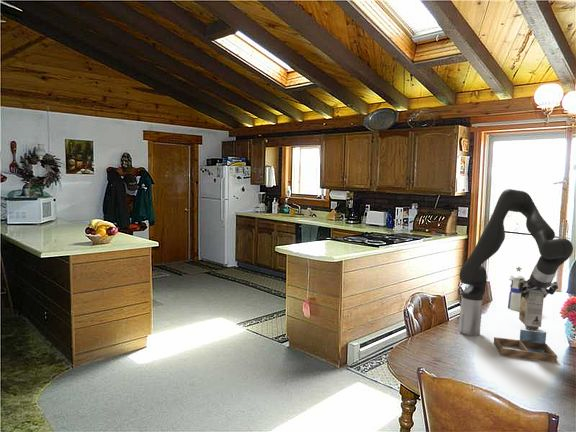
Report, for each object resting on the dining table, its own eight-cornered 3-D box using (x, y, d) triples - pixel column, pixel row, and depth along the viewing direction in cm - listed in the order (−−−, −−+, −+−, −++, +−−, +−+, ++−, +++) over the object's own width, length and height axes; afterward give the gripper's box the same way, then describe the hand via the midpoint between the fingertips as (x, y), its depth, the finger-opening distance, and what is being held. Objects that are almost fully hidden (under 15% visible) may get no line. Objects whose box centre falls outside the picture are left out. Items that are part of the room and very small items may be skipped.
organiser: (500, 355, 177) (502, 337, 177) (493, 343, 191) (494, 326, 190) (556, 362, 172) (558, 343, 171) (545, 349, 185) (546, 332, 185)
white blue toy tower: (504, 306, 253) (507, 265, 251) (519, 307, 252) (522, 266, 250) (509, 310, 245) (512, 268, 243) (525, 311, 244) (528, 269, 242)
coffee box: (518, 319, 184) (521, 283, 183) (534, 320, 183) (537, 284, 182) (525, 325, 175) (528, 288, 174) (542, 327, 174) (545, 289, 173)
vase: (533, 332, 208) (535, 314, 208) (520, 327, 215) (522, 310, 214) (542, 330, 212) (543, 313, 211) (528, 325, 218) (530, 309, 217)
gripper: (562, 267, 166) (549, 290, 179) (521, 264, 170) (512, 286, 182) (565, 283, 162) (553, 305, 174) (524, 280, 166) (514, 301, 178)
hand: (532, 296), depth 178 cm, fingers closed on coffee box, 6 cm apart
